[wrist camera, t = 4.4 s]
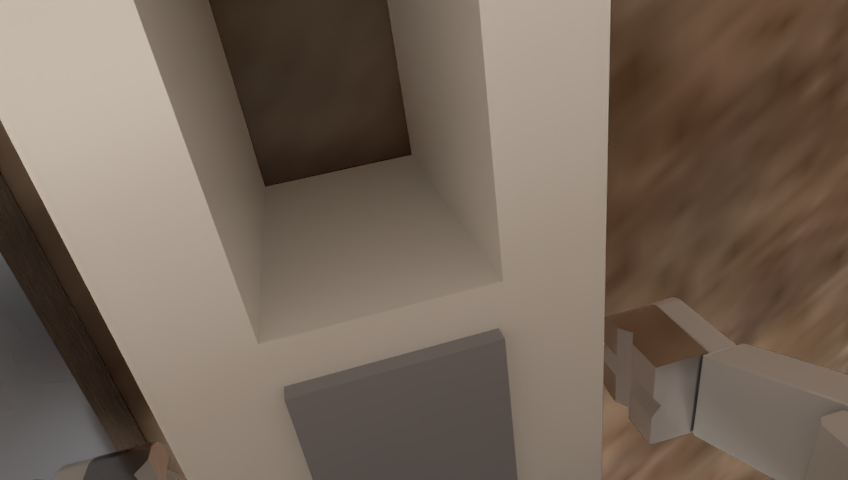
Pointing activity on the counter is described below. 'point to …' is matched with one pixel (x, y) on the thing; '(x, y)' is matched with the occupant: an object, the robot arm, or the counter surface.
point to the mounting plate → (49, 367)
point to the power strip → (337, 240)
